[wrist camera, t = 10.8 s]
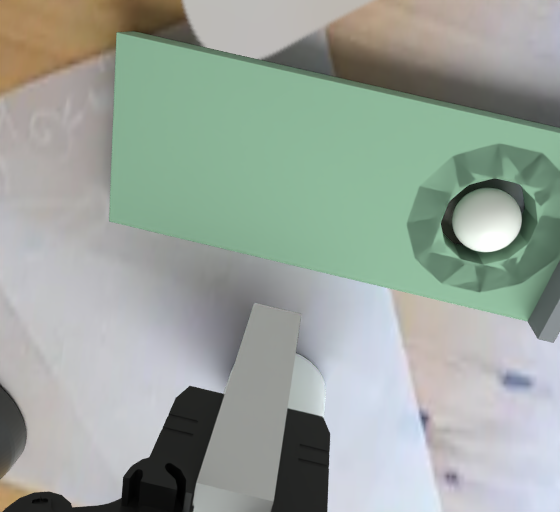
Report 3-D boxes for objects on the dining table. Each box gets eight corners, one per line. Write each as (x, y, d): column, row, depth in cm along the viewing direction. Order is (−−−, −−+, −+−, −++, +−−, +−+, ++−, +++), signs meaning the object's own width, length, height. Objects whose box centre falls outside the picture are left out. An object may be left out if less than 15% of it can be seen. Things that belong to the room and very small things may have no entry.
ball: (502, 270, 31) (507, 220, 33) (532, 238, 28) (536, 184, 30) (439, 253, 32) (447, 205, 33) (461, 219, 28) (469, 167, 30)
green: (124, 208, 36) (95, 232, 32) (134, 31, 30) (100, 33, 26) (530, 305, 35) (553, 342, 31) (615, 140, 29) (656, 160, 25)
